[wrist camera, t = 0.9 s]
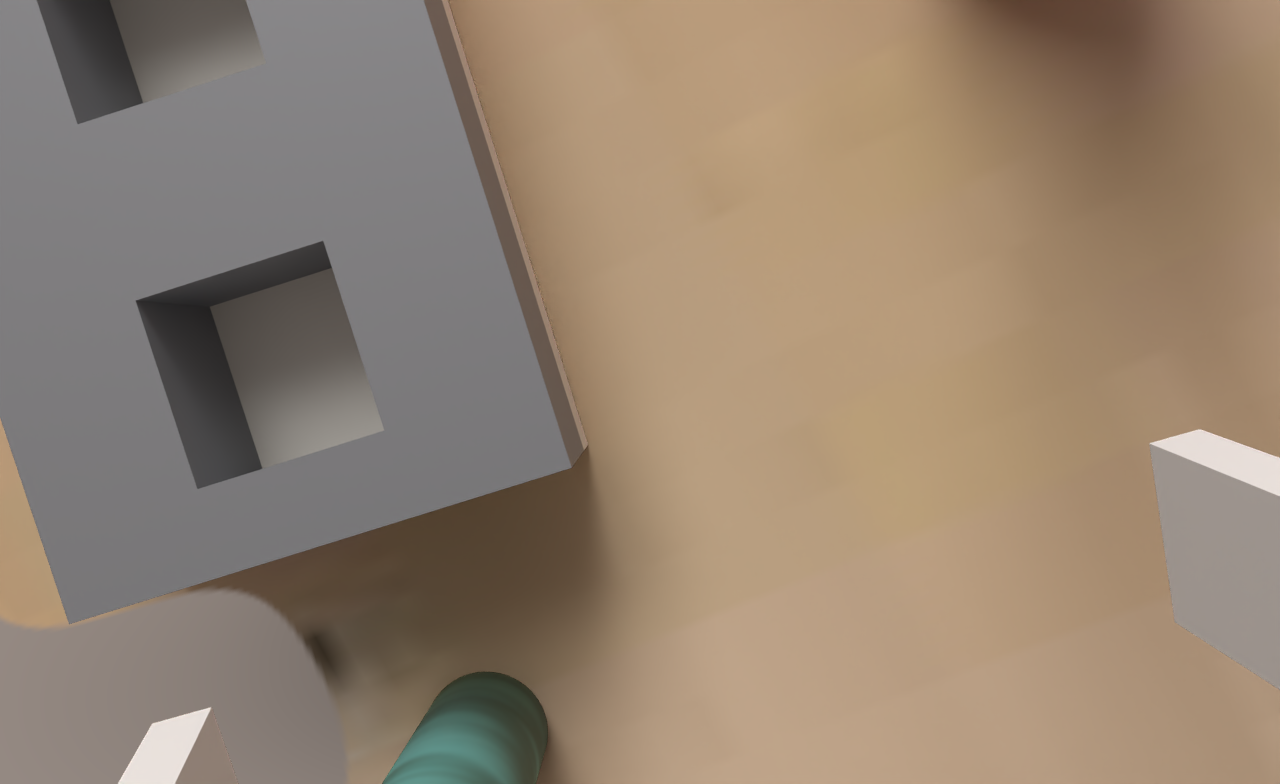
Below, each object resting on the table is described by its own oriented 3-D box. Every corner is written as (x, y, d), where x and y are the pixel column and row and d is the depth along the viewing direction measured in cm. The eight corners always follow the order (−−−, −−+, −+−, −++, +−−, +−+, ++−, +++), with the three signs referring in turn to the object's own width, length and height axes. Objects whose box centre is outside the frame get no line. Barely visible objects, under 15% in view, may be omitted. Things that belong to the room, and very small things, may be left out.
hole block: (588, 444, 37) (571, 467, 30) (179, 572, 38) (69, 624, 31) (398, -157, 37) (336, -276, 30) (-17, -21, 37) (-175, -106, 30)
